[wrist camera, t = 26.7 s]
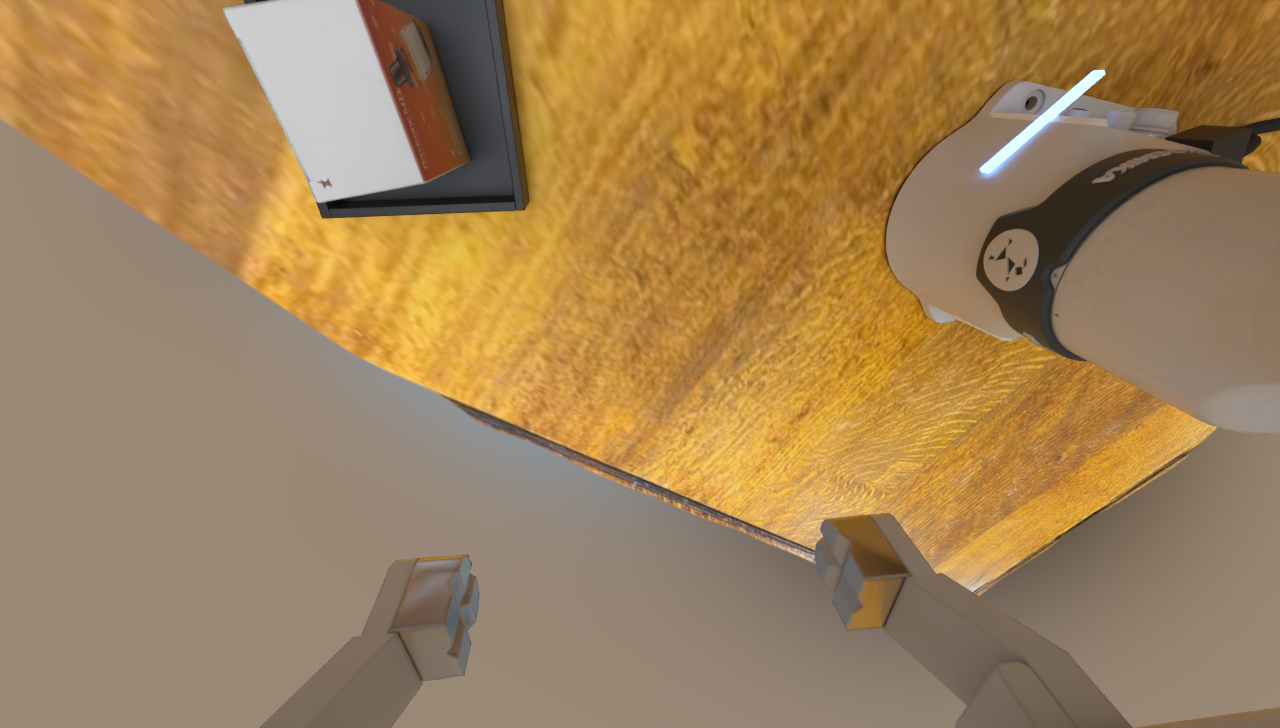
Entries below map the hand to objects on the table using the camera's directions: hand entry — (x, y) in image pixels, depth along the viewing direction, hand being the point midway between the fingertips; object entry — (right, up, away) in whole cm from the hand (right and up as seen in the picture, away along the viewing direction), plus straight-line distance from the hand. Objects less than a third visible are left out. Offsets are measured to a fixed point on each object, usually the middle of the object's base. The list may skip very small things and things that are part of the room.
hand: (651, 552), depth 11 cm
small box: (-15, +21, +19) cm, 32 cm away
